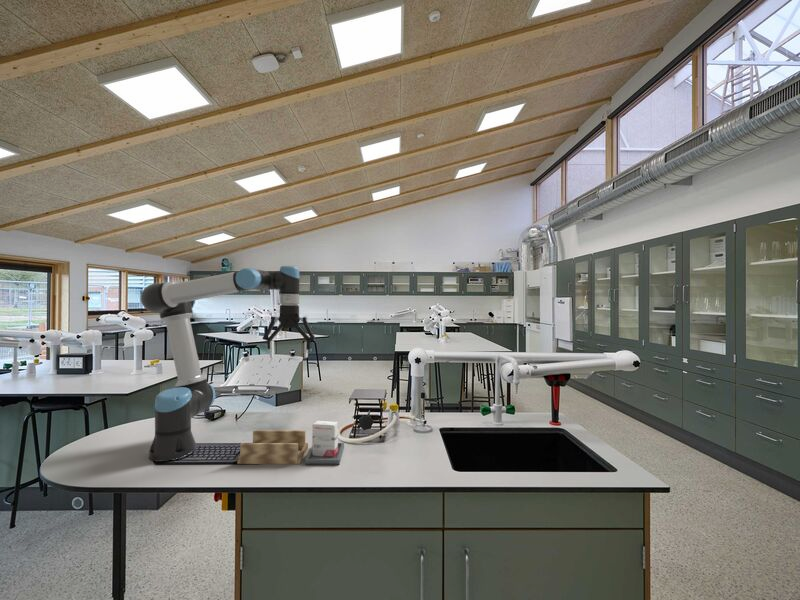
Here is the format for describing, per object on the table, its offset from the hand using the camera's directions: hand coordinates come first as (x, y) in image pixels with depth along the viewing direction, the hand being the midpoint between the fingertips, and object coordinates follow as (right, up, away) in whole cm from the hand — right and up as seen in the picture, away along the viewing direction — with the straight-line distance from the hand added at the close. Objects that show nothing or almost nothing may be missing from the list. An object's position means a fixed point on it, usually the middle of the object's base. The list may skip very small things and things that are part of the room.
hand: (288, 357), depth 155 cm
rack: (-2, -35, -12) cm, 37 cm away
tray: (+17, -35, -11) cm, 40 cm away
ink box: (+17, -35, -11) cm, 40 cm away
